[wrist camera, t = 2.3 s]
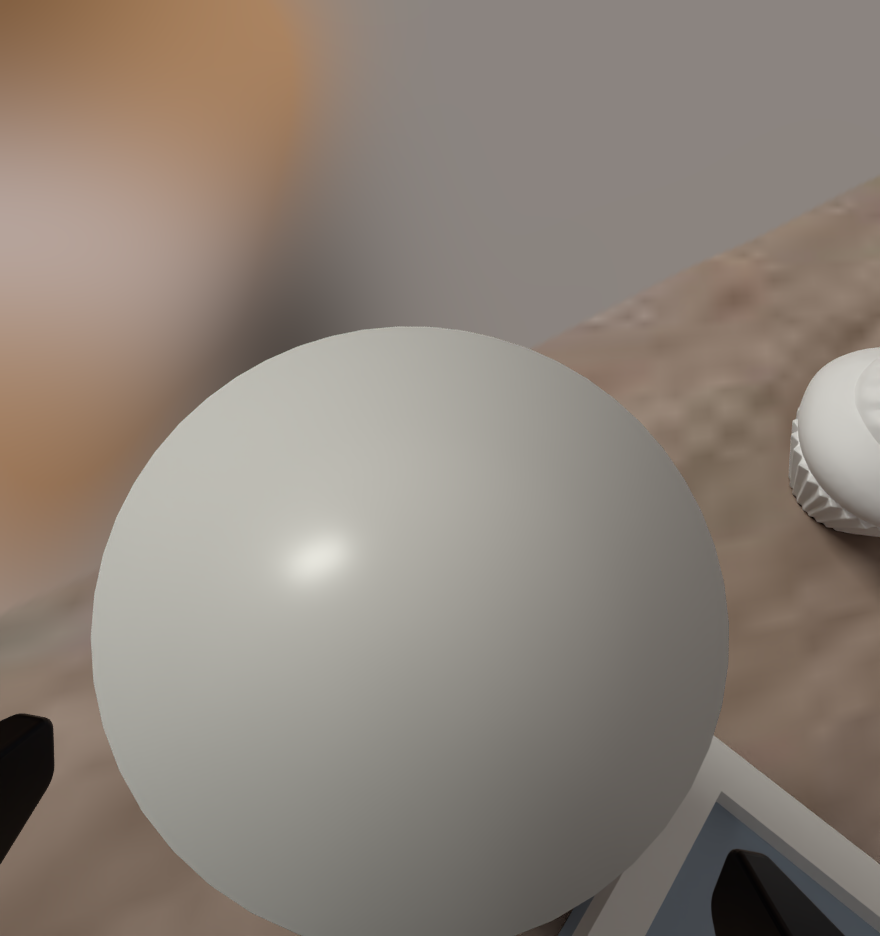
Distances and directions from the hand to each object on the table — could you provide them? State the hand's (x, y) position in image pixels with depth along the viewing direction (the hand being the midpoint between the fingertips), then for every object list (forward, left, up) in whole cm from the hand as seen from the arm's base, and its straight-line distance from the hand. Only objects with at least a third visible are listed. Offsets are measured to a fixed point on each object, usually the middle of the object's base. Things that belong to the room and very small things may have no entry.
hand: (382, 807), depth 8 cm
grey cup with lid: (+2, +1, -9) cm, 10 cm away
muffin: (+17, -6, -10) cm, 20 cm away
